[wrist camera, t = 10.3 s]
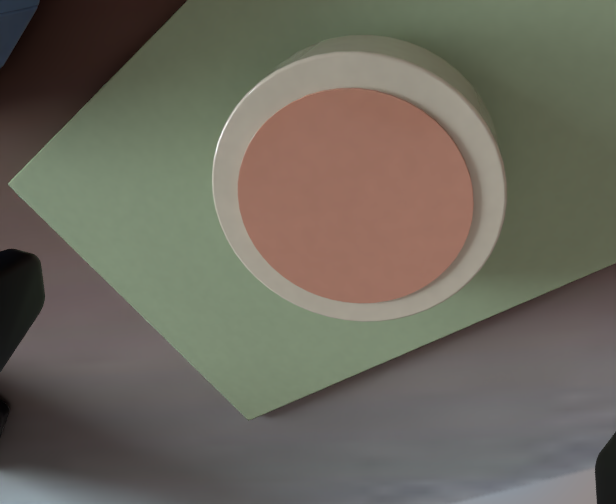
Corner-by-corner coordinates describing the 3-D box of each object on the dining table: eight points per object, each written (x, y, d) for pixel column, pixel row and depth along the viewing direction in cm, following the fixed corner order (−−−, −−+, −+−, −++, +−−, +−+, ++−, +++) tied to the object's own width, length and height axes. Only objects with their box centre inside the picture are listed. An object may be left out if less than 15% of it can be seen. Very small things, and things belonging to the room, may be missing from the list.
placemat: (251, 413, 21) (248, 421, 21) (14, 179, 18) (6, 184, 17) (894, 132, 12) (908, 138, 12) (666, -483, 8) (676, -499, 8)
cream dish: (395, 308, 17) (388, 366, 15) (205, 191, 16) (168, 234, 14) (558, 132, 13) (581, 174, 11) (320, -31, 12) (295, -20, 10)
